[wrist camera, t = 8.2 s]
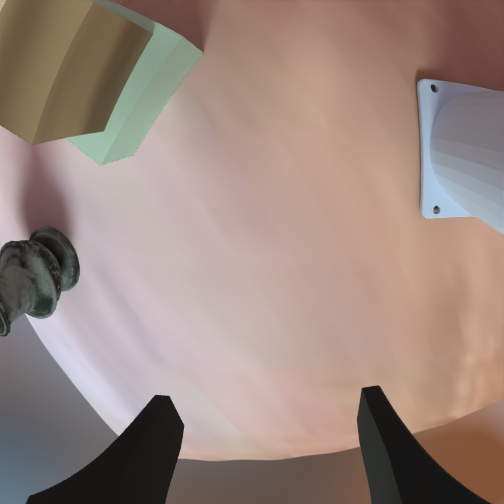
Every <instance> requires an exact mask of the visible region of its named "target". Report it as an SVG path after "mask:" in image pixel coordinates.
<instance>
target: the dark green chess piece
mask: <svg viewBox="0 0 504 504" xmlns="http://www.w3.org/2000/svg"><path fill="white" fill-rule="evenodd" d="M79 275H80V267H79V262H78V257H77V255H76V253H75V250H74V248H73V247H72V245H71V244H70V242H69V241H68V239H67V238H66V237H65V236H64V235H63V234H62V233H60V232H59V231H57V230H56V229H53V228H51V227H41V228H39V229H36V230H35V231H34V232H33V233H32V235H31V237H30V240H22V241H10V242H8V243H6V244H5V245H4V246H3V247H2V248H1V250H0V336H7V335H8V334H9V333H10V325H11V324H12V323H13V322H14V321H15V320H16V319H17V318H18V317H20V316H21V315H22V314H23V313H26V314H28V315H30V316H32V317H35V318H39V319H43V318H48V317H49V316H51V315H52V314H53V312H54V311H55V309H56V305H57V301H58V300H59V297H60V294H61V291H68V290H70V289H72V288H73V287H74V286H75V285H76V283H77V282H78V278H79Z"/></svg>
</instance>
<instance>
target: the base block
mask: <svg viewBox="0 0 504 504" xmlns="http://www.w3.org/2000/svg"><path fill="white" fill-rule="evenodd" d="M87 1H91V2H94V3H97V4H99V5H101V6H103V7H105V8H107V9H109V10H111V11H112V12H114V13H116V14H118V15H120V16H122V17H124V18H126V19H128V20H129V21H131V22H133V23H135V24H137V25H138V26H140V27H142V28H144V29H145V30H147V31H149V32H151V33H152V34H153V36H152V37H151V39H150V41H149V42H148V44H147V46H146V47H145V49H144V51H143V53H142V54H141V56H140V58H139V60H138V62H137V63H136V65H135V67H134V69H133V71H132V73H131V75H130V77H129V79H128V80H127V82H126V84H125V86H124V88H123V91H122V93H121V95H120V97H119V99H118V101H117V103H116V105H115V107H114V110H113V112H112V114H111V116H110V118H109V121H108V123H107V125H106V128H105V130H104V132H97V133H91V134H85V135H79V136H73V137H68V138H65V139H66V140H68V141H69V142H70V143H72V144H73V145H74V146H75V147H77V148H78V149H79V150H81V151H82V152H83V153H85V154H86V155H87V156H89V157H90V158H91V159H93V160H94V161H95V162H96V163H98V164H99V165H100V166H102V165H105V164H108V163H111V162H114V161H117V160H120V159H124V158H127V157H130V156H134V154H135V153H136V151H137V149H138V148H139V146H140V144H141V143H142V141H143V139H144V138H145V136H146V135H147V133H148V131H149V130H150V128H151V127H152V125H153V123H154V122H155V120H156V119H157V117H158V116H159V114H160V113H161V111H162V110H163V108H164V107H165V105H166V104H167V102H168V101H169V99H170V98H171V96H172V95H173V94H174V92H175V91H176V89H177V88H178V86H179V85H180V84H181V82H182V81H183V80H184V78H185V77H186V75H187V74H188V73H189V71H190V70H191V69H192V67H193V66H194V65H195V63H196V62H197V61H198V60H199V58H200V57H201V56H202V54H203V52H202V51H200V50H199V49H198V48H197V47H196V46H194V45H193V44H192V43H191V42H190V41H188V40H187V39H186V38H185V37H183V36H182V35H180V34H178V33H176V32H174V31H173V30H171V29H169V28H167V27H165V26H163V25H161V24H159V23H157V22H155V21H153V20H151V19H149V18H147V17H145V16H143V15H141V14H139V13H137V12H135V11H133V10H131V9H128V8H126V7H124V6H122V5H120V4H117V3H115V2H113V1H110V0H87Z"/></svg>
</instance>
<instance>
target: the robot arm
mask: <svg viewBox="0 0 504 504" xmlns="http://www.w3.org/2000/svg"><path fill="white" fill-rule="evenodd" d="M431 85H434V86H435V92H433V91H432V90H431ZM417 96H418V107H419V121H420V142H421V197H420V212H421V214H422V215H423V216H424V217H426V218H446V217H469V216H475V217H477V218H478V219H480V220H481V221H483V222H485V223H486V224H488V225H489V226H491V227H492V228H494V229H495V230H497V231H498V232H500V233H501V234H503V235H504V91H496V90H492V89H487V88H482V87H477V86H472V85H466V84H460V83H454V82H448V81H441V80H433V79H421V80H419V81H418V83H417ZM435 206H437V207H438V209H437V211H436V212H433V209H434V207H435ZM357 424H358V433H359V442H360V447H361V451H362V456H363V460H364V465H365V469H366V474H367V479H368V483H369V488H370V494H371V504H491V503H489V502H488V501H486V500H484V499H483V498H481V497H479V496H478V495H476V494H475V493H473V492H471V491H470V490H469V489H467V488H466V487H465V486H464V485H462V484H461V483H460V482H458V481H457V480H456V479H455V478H453V477H452V476H451V475H450V474H449V473H447V472H446V471H445V470H444V469H443V468H442V467H441V466H440V465H439V464H438V463H437V462H436V461H435V460H434V459H433V458H432V457H431V456H430V455H429V454H428V453H427V452H426V451H425V449H424V448H423V447H422V446H421V445H420V444H419V443H418V441H417V440H416V439H415V438H414V436H413V435H412V434H411V433H410V431H409V430H408V429H407V427H406V426H405V424H404V423H403V422H402V420H401V419H400V418H399V416H398V415H397V413H396V412H395V410H394V409H393V407H392V406H391V404H390V402H389V401H388V399H387V398H386V396H385V394H384V393H383V391H382V389H381V387H380V386H378V385H377V386H371V387H365V388H362V391H361V398H360V404H359V410H358V416H357ZM183 431H184V424H183V422H182V420H181V418H180V416H179V414H178V412H177V410H176V408H175V406H174V404H173V402H172V400H171V398H170V396H164V395H155V396H154V397H153V398H152V399H151V400H150V402H149V403H148V404H147V405H146V406H145V408H144V409H143V410H142V411H141V412H140V413H139V415H138V416H137V417H136V418H135V419H134V420H133V422H132V423H131V424H130V425H129V426H128V427H127V428H126V429H125V431H124V432H123V433H122V434H121V435H120V436H119V437H118V438H117V439H116V440H115V441H114V442H113V443H112V444H111V445H110V446H109V447H108V448H107V449H106V450H105V451H104V452H103V453H102V454H101V455H99V456H98V457H97V458H96V459H95V460H93V461H92V462H91V463H90V464H88V465H87V466H86V467H84V468H83V469H81V470H80V471H79V472H77V473H75V474H74V475H72V476H71V477H70V478H68V479H66V480H64V481H62V482H60V483H59V484H57V485H55V486H53V487H51V488H49V489H46V490H44V491H41V492H39V493H36V494H34V495H31V496H29V498H28V500H27V502H26V504H165V502H166V497H167V493H168V489H169V485H170V482H171V479H172V475H173V472H174V469H175V466H176V463H177V459H178V456H179V452H180V449H181V444H182V438H183Z"/></svg>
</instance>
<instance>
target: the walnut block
mask: <svg viewBox="0 0 504 504" xmlns="http://www.w3.org/2000/svg"><path fill="white" fill-rule="evenodd" d="M152 36H153V34H152V33H151V32H149V31H147V30H145V29H144V28H142V27H140V26H138V25H137V24H135V23H133V22H131V21H129V20H128V19H126V18H124V17H122V16H120V15H118V14H116V13H114V12H112V11H111V10H109V9H107V8H105V7H103V6H101V5H99V4H97V3H94V2H91V1H87V0H6V2H5V4H4V6H3V8H2V10H1V12H0V125H1V126H3V127H4V128H6V129H7V130H9V131H10V132H12V133H14V134H15V135H17V136H18V137H20V138H22V139H23V140H25V141H27V142H28V143H30V144H31V145H34V144H39V143H43V142H48V141H53V140H57V139H63V138H68V137H73V136H79V135H85V134H91V133H97V132H104V130H105V128H106V125H107V123H108V121H109V118H110V116H111V114H112V112H113V110H114V107H115V105H116V103H117V101H118V99H119V97H120V95H121V93H122V91H123V88H124V86H125V84H126V82H127V80H128V79H129V77H130V75H131V73H132V71H133V69H134V67H135V65H136V63H137V62H138V60H139V58H140V56H141V54H142V53H143V51H144V49H145V47H146V46H147V44H148V42H149V41H150V39H151V37H152Z"/></svg>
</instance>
